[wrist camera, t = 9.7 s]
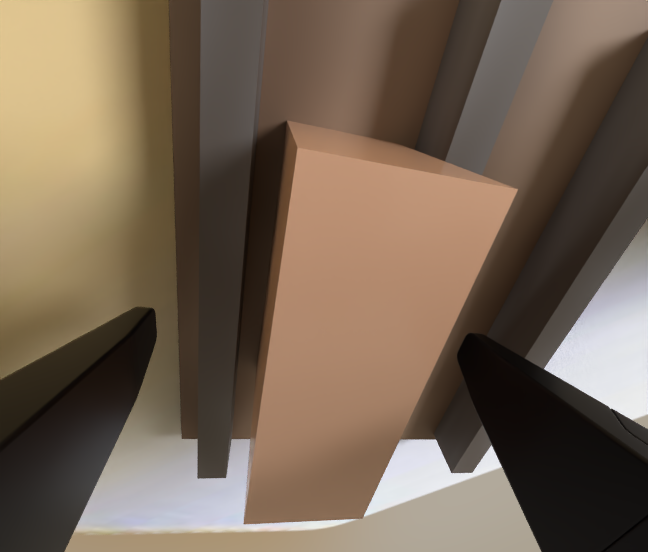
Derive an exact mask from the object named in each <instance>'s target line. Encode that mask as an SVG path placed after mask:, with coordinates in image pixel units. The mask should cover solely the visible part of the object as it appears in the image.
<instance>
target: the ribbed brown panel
mask: <svg viewBox="0 0 648 552" xmlns="http://www.w3.org/2000/svg"><path fill="white" fill-rule="evenodd" d="M169 28H170V62H171V95H172V129H173V162H174V196H175V229H176V263H177V296H178V330H179V364H180V397H181V431H182V439H198V478H226V474H227V467H228V460H229V452H230V445H231V439H250V438H251V426H252V414H253V401H254V389H255V377H256V365H257V357H258V349H259V341H260V333H261V325H262V317H263V309H264V301H265V293H266V285H267V277H268V269H269V261H270V253H271V245H272V237H273V229H274V221H275V213H276V205H277V197H278V189H279V181H280V173H281V165H282V157H283V149H284V141H285V133H286V124H287V121H292V122H297V123H302V124H307V125H312V126H317V127H322V128H326V129H331V130H336V131H341V132H346V133H351V134H356V135H360V136H365V137H370V138H375V139H380V140H385V141H390V142H395V143H398V144H400V145H403V146H406V147H408V148H411V149H414V150H416V151H419V152H421V153H424V154H427V155H429V156H432V157H434V158H437V159H440V160H442V161H445V162H448V163H450V164H453V165H455V166H458V167H461V168H463V169H466V170H469V171H471V172H474V173H476V174H479V175H482V176H484V177H487V178H490V179H492V180H495V181H497V182H500V183H503V184H505V185H508V186H511V187H513V188H516V189H518V191H517V193H516V195H515V197H514V199H513V202H512V204H511V206H510V208H509V210H508V212H507V214H506V216H505V218H504V221H503V223H502V225H501V227H500V229H499V231H498V233H497V235H496V237H495V240H494V242H493V244H492V246H491V248H490V250H489V252H488V254H487V256H486V259H485V261H484V263H483V265H482V267H481V269H480V271H479V273H478V275H477V278H476V280H475V282H474V284H473V286H472V288H471V290H470V292H469V294H468V297H467V299H466V301H465V303H464V305H463V307H462V309H461V311H460V313H459V316H458V318H457V320H456V322H455V324H454V326H453V328H452V330H451V332H450V335H449V337H448V339H447V341H446V343H445V345H444V347H443V349H442V351H441V354H440V356H439V358H438V360H437V362H436V364H435V366H434V368H433V370H432V373H431V375H430V377H429V379H428V381H427V383H426V385H425V387H424V389H423V392H422V394H421V396H420V398H419V400H418V402H417V404H416V406H415V408H414V411H413V413H412V415H411V417H410V419H409V421H408V423H407V425H406V427H405V430H404V432H403V434H402V436H401V438H400V439H436V440H437V442H438V445H439V447H440V449H441V451H442V453H443V455H444V458H445V460H446V462H447V464H448V466H449V468H450V471H451V473H472V472H473V471H474V469H475V468H476V466H477V465H478V463H479V462H480V461H481V459H482V458H483V456H484V455H485V453H486V452H487V450H488V449H489V447H490V446H491V445H492V444H491V442H490V440H489V438H488V436H487V434H486V432H485V429H484V427H483V425H482V423H481V421H480V419H479V416H478V414H477V412H476V410H475V408H474V405H473V403H472V400H471V397H470V395H469V392H468V389H467V386H466V383H465V381H464V378H463V375H462V372H461V369H460V367H459V364H458V361H457V352H458V350H459V348H460V346H461V344H462V342H463V340H464V338H465V336H466V335H467V334H468V333H481V334H484V335H485V336H487V337H489V338H491V339H492V340H494V341H496V342H498V343H499V344H501V345H503V346H504V347H506V348H508V349H510V350H511V351H513V352H515V353H517V354H518V355H520V356H522V357H523V358H525V359H527V360H529V361H530V362H532V363H534V364H536V365H537V366H539V367H541V368H542V369H544V368H545V366H546V365H547V363H548V362H549V360H550V359H551V357H552V356H553V354H554V353H555V352H556V350H557V349H558V347H559V346H560V344H561V343H562V341H563V340H564V338H565V337H566V336H567V334H568V333H569V331H570V330H571V328H572V327H573V325H574V324H575V322H576V321H577V320H578V318H579V317H580V315H581V314H582V312H583V311H584V309H585V308H586V307H587V305H588V304H589V302H590V301H591V299H592V298H593V296H594V295H595V293H596V292H597V291H598V289H599V288H600V286H601V285H602V283H603V282H604V280H605V279H606V277H607V276H608V275H609V273H610V272H611V270H612V269H613V267H614V266H615V264H616V263H617V261H618V260H619V259H620V257H621V256H622V254H623V253H624V251H625V250H626V248H627V247H628V245H629V244H630V243H631V241H632V240H633V238H634V237H635V235H636V234H637V232H638V231H639V229H640V228H641V227H642V225H643V224H644V222H645V221H646V219H647V218H648V0H169Z"/></svg>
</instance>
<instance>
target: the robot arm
mask: <svg viewBox="0 0 648 552" xmlns="http://www.w3.org/2000/svg"><path fill="white" fill-rule="evenodd" d="M156 338H157V329H156V315H155V310H154V309H153V308H147V307H135V308H133V309H131V310H129V311H127V312H125V313H123V314H122V315H120V316H118V317H116V318H114V319H112V320H110V321H109V322H107V323H105V324H103V325H101V326H99V327H97V328H96V329H94V330H92V331H90V332H88V333H86V334H85V335H83V336H81V337H79V338H77V339H75V340H73V341H72V342H70V343H68V344H66V345H64V346H62V347H60V348H59V349H57V350H55V351H53V352H51V353H49V354H47V355H46V356H44V357H42V358H40V359H38V360H36V361H34V362H33V363H31V364H29V365H27V366H25V367H23V368H21V369H20V370H18V371H16V372H14V373H12V374H10V375H8V376H7V377H5V378H3V379H1V380H0V552H64V551H65V549H66V547H67V545H68V543H69V540H70V539H71V536H72V534H73V532H74V530H75V528H76V526H77V524H78V522H79V520H80V517H81V515H82V513H83V511H84V509H85V507H86V505H87V503H88V501H89V498H90V496H91V494H92V492H93V490H94V488H95V486H96V484H97V482H98V479H99V477H100V475H101V473H102V471H103V469H104V467H105V465H106V462H107V460H108V458H109V456H110V454H111V452H112V450H113V448H114V446H115V443H116V441H117V439H118V437H119V435H120V433H121V431H122V429H123V427H124V424H125V422H126V420H127V418H128V416H129V414H130V412H131V410H132V407H133V405H134V403H135V401H136V398H137V396H138V393H139V391H140V388H141V385H142V382H143V379H144V376H145V373H146V370H147V367H148V364H149V361H150V358H151V355H152V352H153V349H154V346H155V343H156ZM457 361H458V364H459V367H460V369H461V372H462V375H463V378H464V381H465V383H466V386H467V389H468V392H469V395H470V397H471V400H472V403H473V405H474V408H475V410H476V412H477V414H478V416H479V419H480V421H481V423H482V425H483V427H484V429H485V432H486V434H487V436H488V438H489V440H490V442H491V444H492V447H493V449H494V451H495V453H496V455H497V457H498V459H499V462H500V464H501V466H502V468H503V470H504V472H505V474H506V477H507V479H508V481H509V483H510V485H511V487H512V489H513V491H514V494H515V496H516V498H517V500H518V502H519V504H520V507H521V509H522V511H523V513H524V515H525V517H526V520H527V522H528V524H529V526H530V528H531V530H532V532H533V535H534V537H535V539H536V541H537V543H538V545H539V547H540V549H541V552H648V429H647V428H645V427H643V426H641V425H639V424H638V423H636V422H634V421H632V420H631V419H629V418H627V417H625V416H624V415H622V414H620V413H619V412H617V411H615V410H613V409H610V408H609V407H608V406H606V405H605V404H603V403H601V402H599V401H598V400H596V399H594V398H593V397H591V396H589V395H587V394H586V393H584V392H582V391H580V390H579V389H577V388H575V387H574V386H572V385H570V384H568V383H567V382H565V381H563V380H561V379H560V378H558V377H556V376H555V375H553V374H551V373H549V372H548V371H546V370H544V369H542V368H541V367H539V366H537V365H536V364H534V363H532V362H530V361H529V360H527V359H525V358H523V357H522V356H520V355H518V354H517V353H515V352H513V351H511V350H510V349H508V348H506V347H504V346H503V345H501V344H499V343H498V342H496V341H494V340H492V339H491V338H489V337H487V336H485V335H484V334H481V333H468V334H467V335H466V336H465V338H464V340H463V342H462V344H461V346H460V348H459V350H458V352H457Z"/></svg>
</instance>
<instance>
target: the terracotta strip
mask: <svg viewBox="0 0 648 552" xmlns="http://www.w3.org/2000/svg"><path fill="white" fill-rule="evenodd" d="M517 191H518V189H516V188H513V187H511V186H508V185H505V184H503V183H500V182H497V181H495V180H492V179H490V178H487V177H484V176H482V175H479V174H476V173H474V172H471V171H469V170H466V169H463V168H461V167H458V166H455V165H453V164H450V163H448V162H445V161H442V160H440V159H437V158H434V157H432V156H429V155H427V154H424V153H421V152H419V151H416V150H414V149H411V148H408V147H406V146H403V145H400V144H398V143H395V142H390V141H385V140H380V139H375V138H370V137H365V136H360V135H356V134H351V133H346V132H341V131H336V130H331V129H326V128H322V127H317V126H312V125H307V124H302V123H297V122H292V121H287V124H286V133H285V141H284V149H283V157H282V165H281V173H280V181H279V189H278V197H277V205H276V213H275V221H274V229H273V237H272V245H271V253H270V261H269V269H268V277H267V285H266V293H265V301H264V309H263V317H262V325H261V333H260V341H259V349H258V357H257V365H256V377H255V389H254V401H253V414H252V426H251V438H250V451H249V463H248V475H247V487H246V500H245V512H244V524H260V523H280V522H301V521H322V520H342V519H362V518H363V516H364V514H365V512H366V510H367V508H368V506H369V503H370V501H371V499H372V497H373V495H374V493H375V491H376V489H377V487H378V484H379V482H380V480H381V478H382V476H383V474H384V472H385V470H386V468H387V465H388V463H389V461H390V459H391V457H392V455H393V453H394V451H395V449H396V446H397V444H398V442H399V440H400V438H401V436H402V434H403V432H404V430H405V427H406V425H407V423H408V421H409V419H410V417H411V415H412V413H413V411H414V408H415V406H416V404H417V402H418V400H419V398H420V396H421V394H422V392H423V389H424V387H425V385H426V383H427V381H428V379H429V377H430V375H431V373H432V370H433V368H434V366H435V364H436V362H437V360H438V358H439V356H440V354H441V351H442V349H443V347H444V345H445V343H446V341H447V339H448V337H449V335H450V332H451V330H452V328H453V326H454V324H455V322H456V320H457V318H458V316H459V313H460V311H461V309H462V307H463V305H464V303H465V301H466V299H467V297H468V294H469V292H470V290H471V288H472V286H473V284H474V282H475V280H476V278H477V275H478V273H479V271H480V269H481V267H482V265H483V263H484V261H485V259H486V256H487V254H488V252H489V250H490V248H491V246H492V244H493V242H494V240H495V237H496V235H497V233H498V231H499V229H500V227H501V225H502V223H503V221H504V218H505V216H506V214H507V212H508V210H509V208H510V206H511V204H512V202H513V199H514V197H515V195H516V193H517Z"/></svg>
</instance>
